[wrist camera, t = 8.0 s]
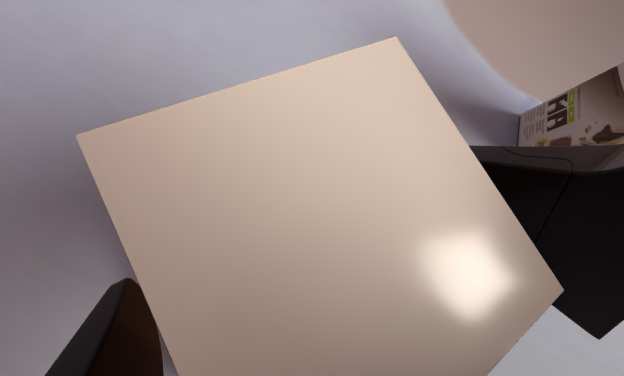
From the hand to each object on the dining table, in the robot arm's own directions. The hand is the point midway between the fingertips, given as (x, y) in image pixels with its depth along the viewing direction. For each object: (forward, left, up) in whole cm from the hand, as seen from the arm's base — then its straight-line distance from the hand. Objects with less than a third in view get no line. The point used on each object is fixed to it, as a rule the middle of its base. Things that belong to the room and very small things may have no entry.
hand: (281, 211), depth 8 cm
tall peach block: (-1, 0, -8) cm, 8 cm away
